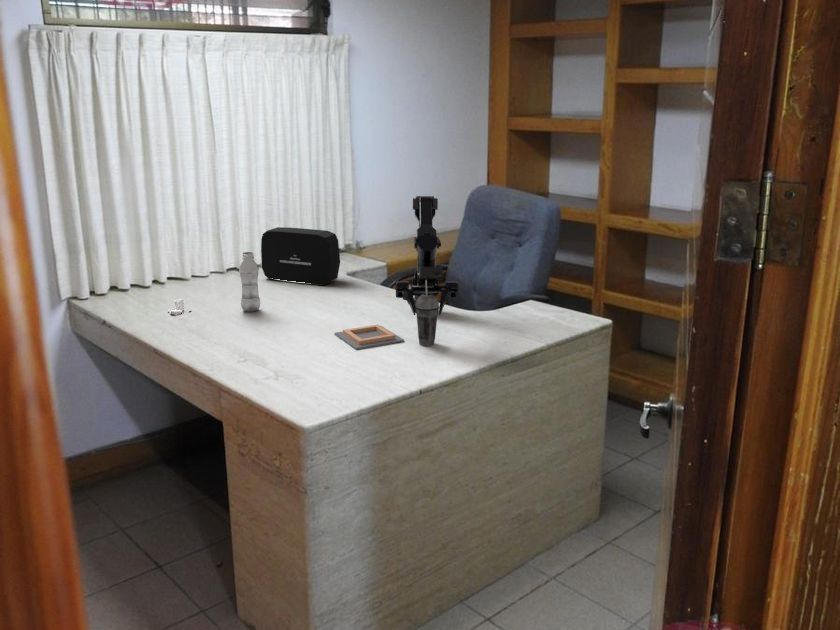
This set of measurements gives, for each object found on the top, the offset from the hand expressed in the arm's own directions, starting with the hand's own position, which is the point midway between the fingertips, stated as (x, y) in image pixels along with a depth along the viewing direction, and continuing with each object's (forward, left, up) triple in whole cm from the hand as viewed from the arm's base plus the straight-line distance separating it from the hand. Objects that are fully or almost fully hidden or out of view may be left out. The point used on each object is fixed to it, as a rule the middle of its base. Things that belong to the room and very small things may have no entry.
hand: (427, 314), depth 229 cm
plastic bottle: (+35, -59, -10) cm, 70 cm away
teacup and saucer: (+60, -70, -10) cm, 93 cm away
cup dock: (+12, -14, -10) cm, 21 cm away
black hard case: (+4, -91, -10) cm, 92 cm away
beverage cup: (-1, -1, -10) cm, 10 cm away
